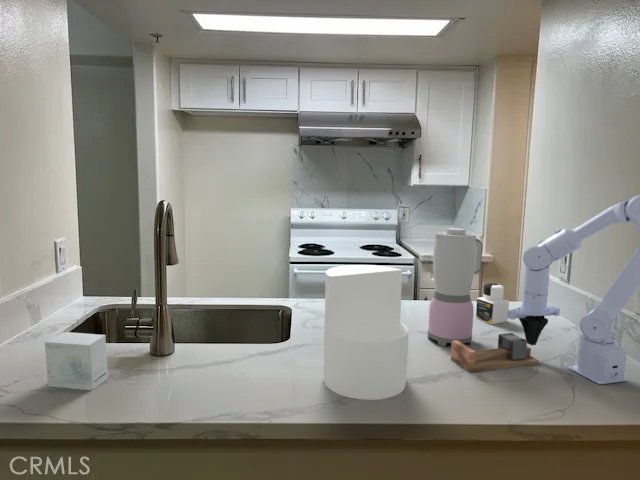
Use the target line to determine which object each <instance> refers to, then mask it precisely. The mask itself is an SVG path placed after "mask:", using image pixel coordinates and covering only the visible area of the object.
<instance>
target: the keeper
mask: <svg viewBox="0 0 640 480" xmlns="http://www.w3.org/2000/svg"><path fill="white" fill-rule="evenodd" d="M527 347H528V343H527V340H526V338H525V339H524V338H523V337H520V336H519V335H516V334H515V333H512V332H510V333H500V334H499V333H498V338H497V349H498V348H506V349H507V350H509V351H508V358H509V359H511V360H518V359H526V349H527Z"/></svg>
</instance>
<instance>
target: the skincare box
mask: <svg viewBox="0 0 640 480" xmlns="http://www.w3.org/2000/svg"><path fill="white" fill-rule="evenodd" d="M106 336H107V335H106V334H96V333H83V332H70V331H68V332H67V331H63V332H60V333H58V334H57V335H55V336H53V337H50V338H49V339H47V340H46V341H44V351H45V361H46V377H47V387H50V388H61V389H70V390H80V391H81V390H82V391H93V390H94V389H96V388H97V387H98V386H100V385H101V384H103V382H105V381H107V380H108V379H109V375H108V361H107V339H106V338H107V337H106Z"/></svg>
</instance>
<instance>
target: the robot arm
mask: <svg viewBox="0 0 640 480" xmlns="http://www.w3.org/2000/svg"><path fill="white" fill-rule="evenodd" d="M629 222H632V223H633V224H634V225H635V226H636V227H637V231H638V233H640V194H637V195H634V196H633V197H631V198H630V199H627V200H624V201H622V202H618V203H616V204H615V205H611V206H609V207H608V208H606V209H605V210H603V211H602V212H600V213H599V214H597V215H595V216H594V217H592V218H590V219H589V220H587V221H585V222H584V223H582V224H581V225H579V226H578V227H575V228H568V227H564V228H562V229H561V228H557V230H555V231H554V233H555V234H552V235H551V236H550V237H548V238H546V239H544V240H543V239H541V240H539V241H537V244H538V245H535V246H530V247H529V248H527V250H526V251H525V252H524V254H523V256H522V261H523V263H524V265H525V268H524V269H525V271H524V277H523V287H522V288H523V291H522V304H521V305H520V307H517V308H513V309H508V310H507V318H508V319H509V320H516V319H519V322H520V323H521V326H522V328H523V332H524V336H525V340H527V345H530V346H536V345H537V343H538V340H539V337H540V336H541V333H542V331H543V330H544V328H545V327H546V325H548V323H549V319H548V318H546V317H547V316H548V317H549V316H550V317H551V316H555V317H559V316H560V313H561V308H559V307H557V306H548V296H549V286H550V283H549V282H550V266H551V265H552V264H553V263H554V262H557V261H559V260H561V259H562V258H564V257H566V256H568V255H570V254H572V253H573V252H575V251H577V250H579V249H580V248H581V246H582V243H583V240H585V239H586V238H588V237H590V236H592V235H594V234H596V233H598V232H600V231H602V230H604V229H605V228H608V227H609V226H611V225H614V224H620V223H622V224H623V223H624V224H625V223H629ZM639 287H640V244H639V245H638V247H637V248H636V250H635V251H634V253H633V254H632V256H631V257H630V258H629V259H628V261H627V262H626V264H625V266H624V267H623V268H622V270H621V271H620V273H619V274H618V275H617V277H616V278H615V280H614V282H613V283H612V284H611V286H610V287H609V289H608V290H607V291H606V293H605V295H604V296H603V297H602V299H601V300H600V302H599V303H598V304H597V306H595V307H593V308H592V309H590V310H588V312H587V314H586V315H585V316H584V317H582V318H581V321H580V322H579V329H580V332H579V342H578V350H577V351H578V352H577V361H576V365H575V364H574V365H569V366H567V369H568V370H570V371H572V372H575V373H576V374H578V375H580V376H582V377H584V378H586V379H589V380H590V381H592V382H594V383H596V384H598V385H606V384H613V383H622V382H625V381H626V382H627V378H626V377H625V372H626V371H625V369H626V361H627V354H626V353H627V352H626V351H625V349H624V348H623V347H622V346H619V344H618V343H617V342H616V337H615V335H614V334H613V332H612V331H613V330H614V329H615V328H616V327H617V324H618V317H619V315H620V313H621V312H622V310H623V309H624V307H625V306H626V305H627V303H628V302H629V301H630V299H631V297H633V295H634V294H635V292H636V291H637V289H638V288H639Z"/></svg>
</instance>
